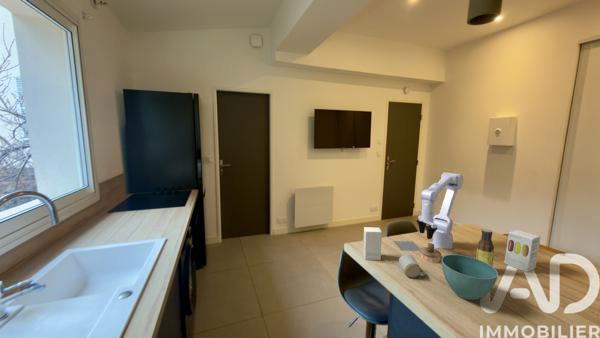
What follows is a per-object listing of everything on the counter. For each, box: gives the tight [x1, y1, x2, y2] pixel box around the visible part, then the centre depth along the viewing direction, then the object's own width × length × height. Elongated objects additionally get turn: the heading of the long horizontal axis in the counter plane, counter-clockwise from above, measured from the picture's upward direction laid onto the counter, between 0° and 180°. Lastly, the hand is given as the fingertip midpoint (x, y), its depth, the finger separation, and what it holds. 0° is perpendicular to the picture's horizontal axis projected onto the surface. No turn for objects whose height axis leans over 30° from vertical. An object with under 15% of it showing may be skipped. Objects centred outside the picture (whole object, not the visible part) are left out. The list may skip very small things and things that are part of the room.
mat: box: [392, 240, 421, 252], centre depth 137 cm, size 12×12×1 cm
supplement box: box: [503, 229, 541, 273], centre depth 116 cm, size 10×9×17 cm
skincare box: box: [362, 226, 383, 261], centre depth 122 cm, size 8×7×16 cm
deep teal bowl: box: [441, 254, 499, 301], centre depth 94 cm, size 18×18×12 cm
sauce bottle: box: [475, 228, 495, 267], centre depth 111 cm, size 7×6×20 cm
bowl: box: [420, 252, 442, 264], centre depth 123 cm, size 9×9×3 cm
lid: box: [419, 242, 442, 258], centre depth 122 cm, size 10×10×5 cm
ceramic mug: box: [398, 253, 426, 278], centre depth 108 cm, size 11×8×8 cm
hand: (425, 235), depth 128 cm, fingers open, 7 cm apart
